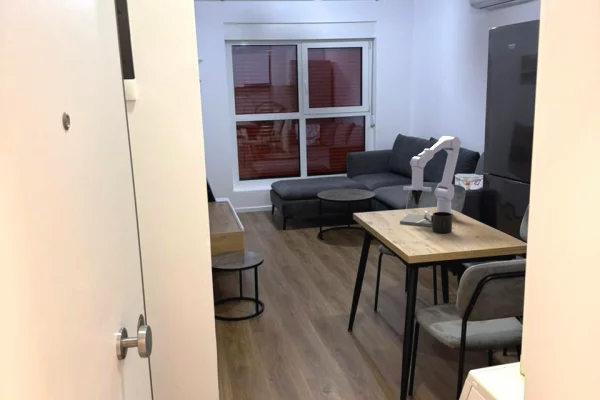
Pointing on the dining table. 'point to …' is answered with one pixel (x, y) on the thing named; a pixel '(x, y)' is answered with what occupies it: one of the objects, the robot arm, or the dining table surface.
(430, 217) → the bar
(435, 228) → the mug
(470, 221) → the dining table surface
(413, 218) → the plate
